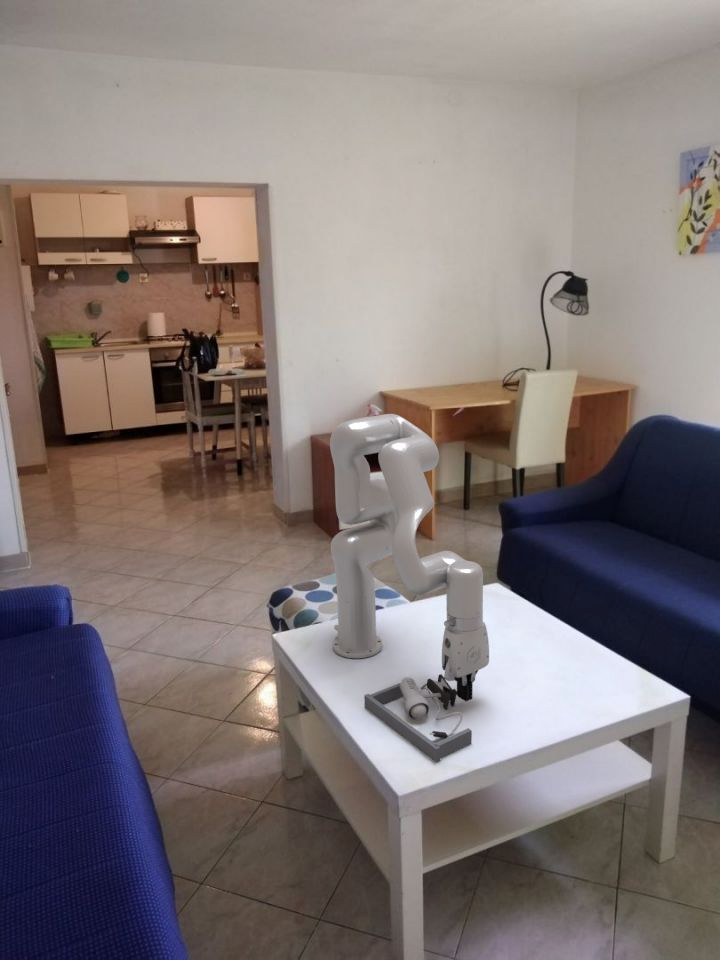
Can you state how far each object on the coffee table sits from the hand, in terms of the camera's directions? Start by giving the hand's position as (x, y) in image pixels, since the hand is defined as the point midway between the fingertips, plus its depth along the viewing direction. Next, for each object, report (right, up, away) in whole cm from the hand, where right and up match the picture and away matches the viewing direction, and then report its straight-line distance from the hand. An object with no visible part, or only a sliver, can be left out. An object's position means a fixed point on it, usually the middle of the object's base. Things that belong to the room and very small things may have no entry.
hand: (464, 697), depth 158 cm
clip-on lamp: (-7, -3, -3) cm, 9 cm away
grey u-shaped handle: (-11, -4, -6) cm, 13 cm away
